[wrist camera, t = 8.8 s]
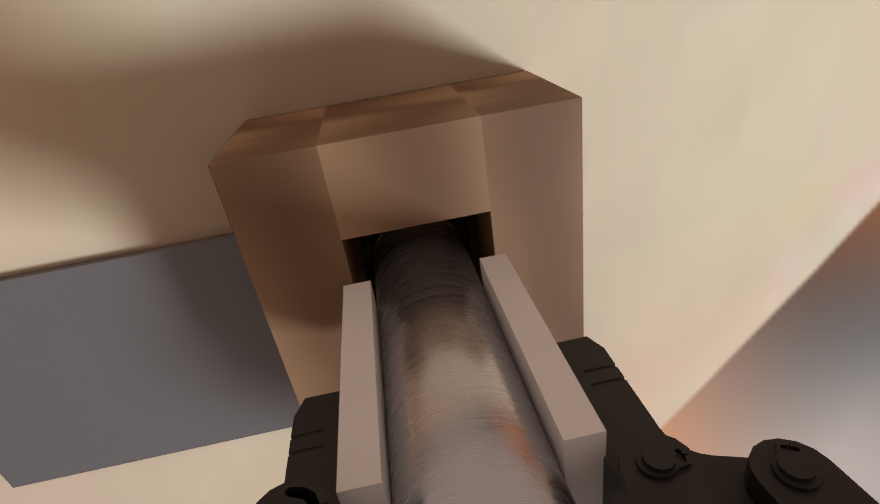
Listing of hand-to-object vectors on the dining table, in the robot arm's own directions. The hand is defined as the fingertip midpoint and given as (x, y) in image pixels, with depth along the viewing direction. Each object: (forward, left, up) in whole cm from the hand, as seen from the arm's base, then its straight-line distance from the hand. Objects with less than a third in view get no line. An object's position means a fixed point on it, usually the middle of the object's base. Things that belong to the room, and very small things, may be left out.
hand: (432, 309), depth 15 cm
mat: (-13, -4, -6) cm, 15 cm away
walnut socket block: (0, 0, -6) cm, 6 cm away
